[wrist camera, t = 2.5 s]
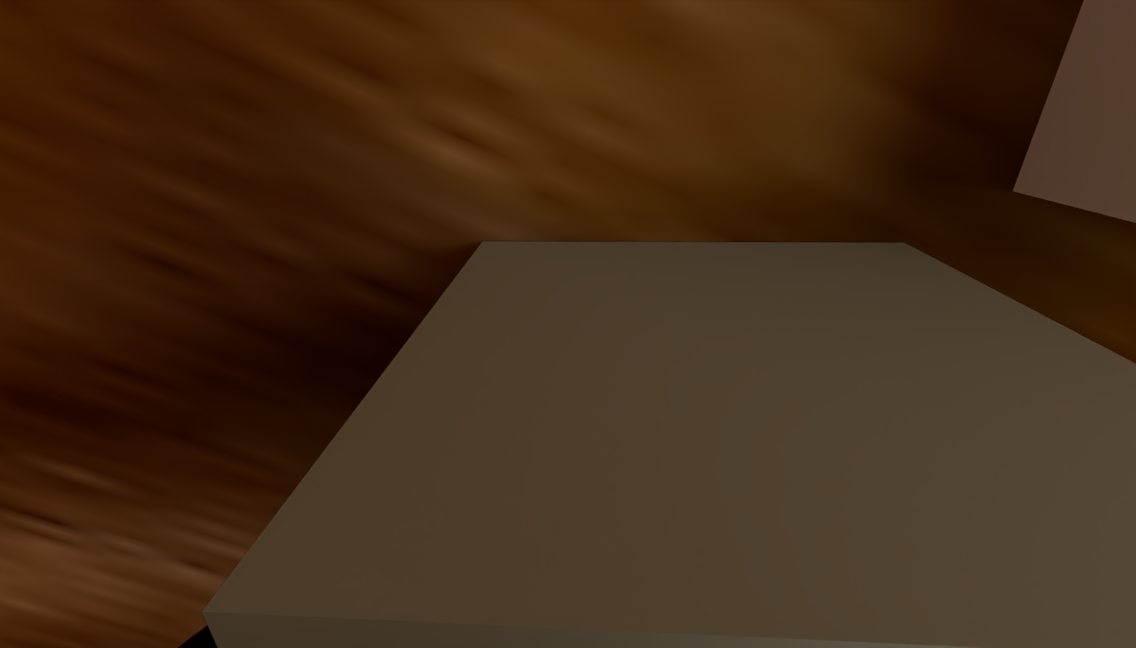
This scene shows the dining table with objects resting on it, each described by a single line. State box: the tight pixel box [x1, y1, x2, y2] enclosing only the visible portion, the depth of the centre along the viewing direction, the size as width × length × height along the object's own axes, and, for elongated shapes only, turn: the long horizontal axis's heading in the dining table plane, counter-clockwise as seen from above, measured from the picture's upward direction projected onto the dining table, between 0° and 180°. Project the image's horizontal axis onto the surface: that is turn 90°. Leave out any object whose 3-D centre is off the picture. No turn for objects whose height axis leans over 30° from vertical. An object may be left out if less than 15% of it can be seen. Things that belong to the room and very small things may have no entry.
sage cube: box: [202, 241, 1136, 648], centre depth 6 cm, size 6×6×6 cm
